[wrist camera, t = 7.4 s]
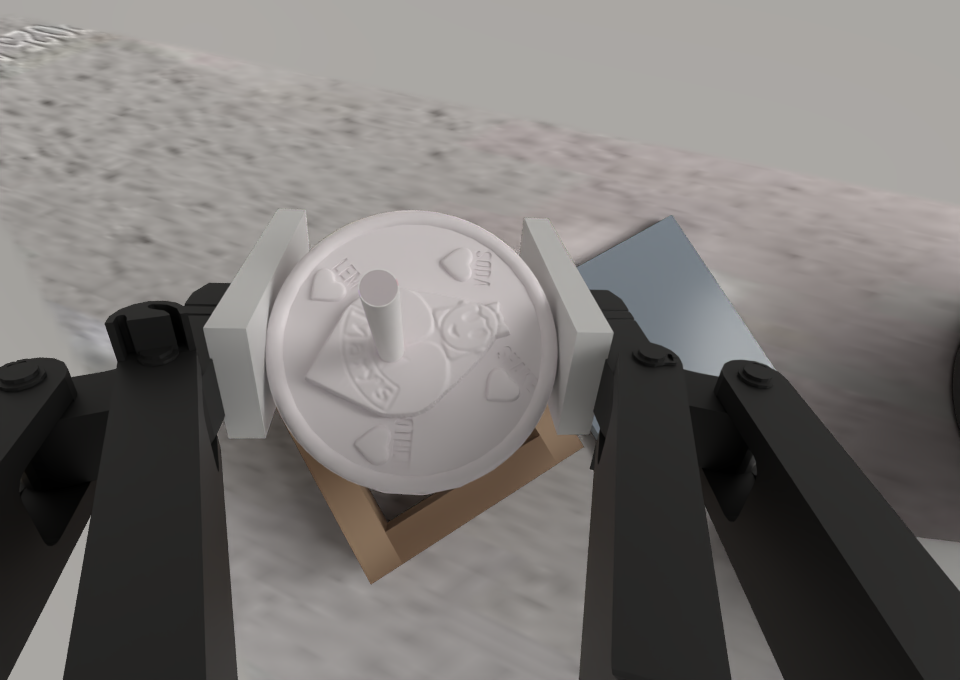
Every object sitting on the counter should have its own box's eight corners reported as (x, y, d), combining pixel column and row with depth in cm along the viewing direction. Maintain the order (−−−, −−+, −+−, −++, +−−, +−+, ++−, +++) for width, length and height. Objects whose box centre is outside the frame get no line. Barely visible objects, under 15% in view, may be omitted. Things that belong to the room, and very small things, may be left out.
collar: (559, 449, 29) (583, 446, 25) (375, 567, 27) (370, 584, 23) (455, 276, 31) (463, 248, 27) (270, 372, 28) (249, 358, 24)
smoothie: (309, 343, 21) (123, 127, 8) (466, 296, 22) (550, 36, 9) (357, 507, 20) (239, 599, 6) (520, 449, 21) (710, 423, 8)
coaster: (770, 377, 32) (779, 375, 31) (620, 478, 29) (625, 479, 29) (665, 220, 33) (671, 215, 32) (513, 304, 31) (516, 300, 30)
